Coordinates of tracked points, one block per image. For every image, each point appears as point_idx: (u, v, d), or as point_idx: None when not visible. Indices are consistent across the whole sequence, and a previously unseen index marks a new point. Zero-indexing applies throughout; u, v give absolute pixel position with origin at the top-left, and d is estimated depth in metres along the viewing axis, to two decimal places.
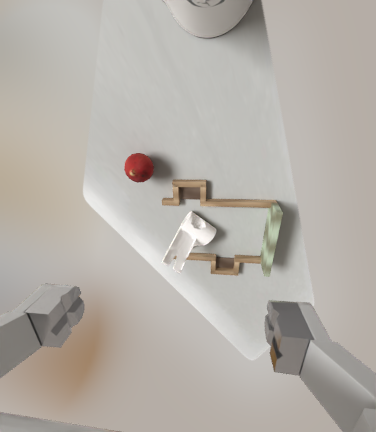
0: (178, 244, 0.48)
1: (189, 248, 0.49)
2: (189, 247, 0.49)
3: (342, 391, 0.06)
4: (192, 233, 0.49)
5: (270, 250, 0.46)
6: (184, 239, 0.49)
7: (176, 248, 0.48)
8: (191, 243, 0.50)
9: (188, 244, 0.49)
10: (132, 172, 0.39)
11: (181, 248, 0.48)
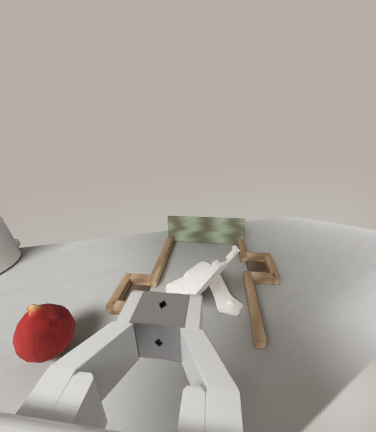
0: None
1: None
2: None
3: (194, 373, 0.06)
4: (193, 279, 0.32)
5: (209, 219, 0.47)
6: None
7: None
8: None
9: None
10: (32, 304, 0.23)
11: None
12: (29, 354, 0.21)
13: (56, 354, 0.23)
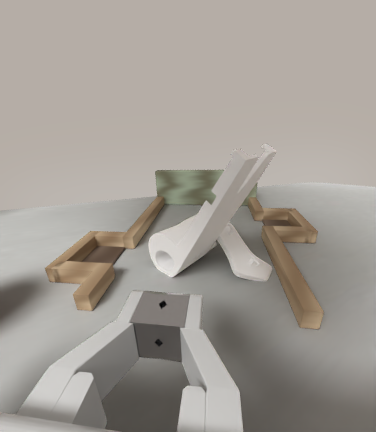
0: None
1: None
2: None
3: (194, 373, 0.06)
4: None
5: (210, 171, 0.35)
6: None
7: None
8: None
9: None
10: None
11: None
12: None
13: None
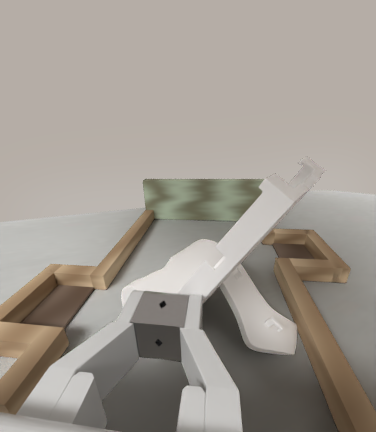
0: None
1: None
2: None
3: (193, 373, 0.06)
4: (185, 274, 0.14)
5: (208, 180, 0.29)
6: None
7: None
8: None
9: None
10: None
11: None
12: None
13: None
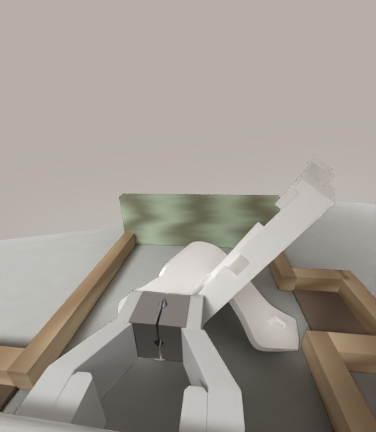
0: None
1: (240, 255, 0.12)
2: (236, 259, 0.12)
3: (195, 373, 0.06)
4: (186, 279, 0.13)
5: (204, 197, 0.22)
6: None
7: (240, 264, 0.09)
8: None
9: None
10: None
11: (240, 261, 0.10)
12: None
13: None
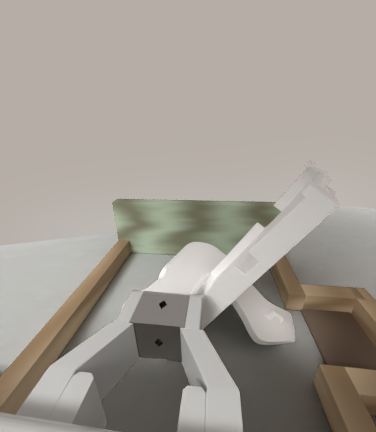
0: None
1: (240, 254, 0.13)
2: (236, 258, 0.13)
3: (194, 373, 0.06)
4: (188, 279, 0.13)
5: (204, 203, 0.21)
6: None
7: (244, 263, 0.09)
8: (226, 268, 0.13)
9: (228, 269, 0.12)
10: None
11: (242, 260, 0.11)
12: None
13: None
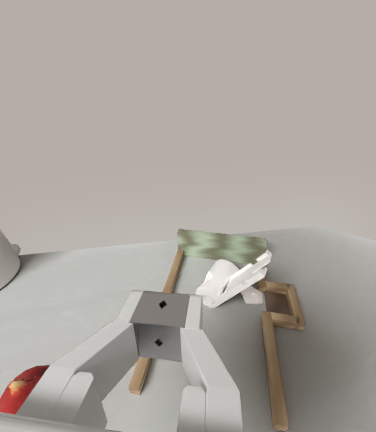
0: (239, 283, 0.31)
1: (243, 272, 0.33)
2: (241, 273, 0.33)
3: (194, 373, 0.06)
4: (222, 279, 0.34)
5: (225, 236, 0.41)
6: (233, 284, 0.33)
7: (244, 280, 0.30)
8: (237, 276, 0.34)
9: (238, 277, 0.33)
10: (15, 380, 0.19)
11: (243, 277, 0.31)
12: None
13: None
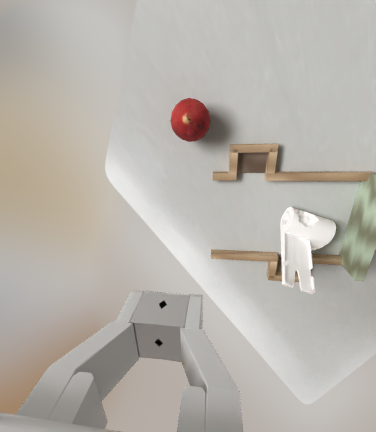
0: (291, 254, 0.35)
1: (307, 256, 0.35)
2: (306, 254, 0.35)
3: (194, 373, 0.06)
4: (303, 234, 0.36)
5: (371, 240, 0.32)
6: (295, 246, 0.36)
7: (291, 260, 0.34)
8: (306, 248, 0.36)
9: (302, 250, 0.35)
10: (187, 116, 0.27)
11: (297, 258, 0.34)
12: None
13: None
